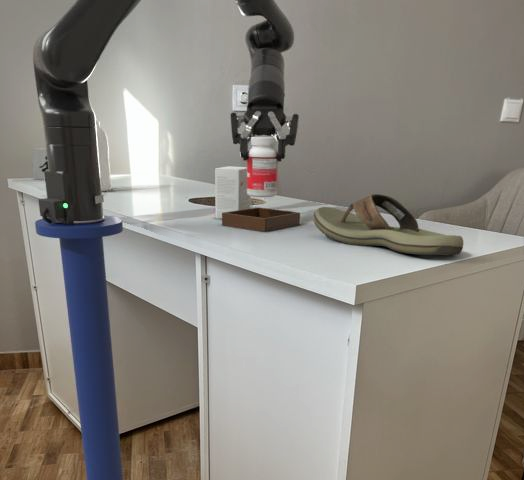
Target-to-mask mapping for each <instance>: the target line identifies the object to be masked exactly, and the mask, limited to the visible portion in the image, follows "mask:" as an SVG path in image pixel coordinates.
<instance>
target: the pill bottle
mask: <svg viewBox="0 0 524 480" xmlns="http://www.w3.org/2000/svg"><path fill="white" fill-rule="evenodd" d="M275 144H276V141H275V138H274V137H273V136H255V137H251V141H250V145H251V148H249V149H248V153H247V161H246V167H247V194H248V195H249V196H251V197H253V198H273V197H275V196H277V195H278V179H279V177H278V175H279V174H278V173H279V169H278V168H279V161H278V150H276V149H275V148H274V146H275Z"/></svg>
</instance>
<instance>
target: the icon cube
mask: <svg viewBox="0 0 524 480" xmlns="http://www.w3.org/2000/svg"><path fill="white" fill-rule="evenodd" d="M30 155H31V163H32V171H33V177H34V180H45V179H44V178H45V175H44V172H45V170H49V169H48V160H47V151H46V147H36V148H30Z"/></svg>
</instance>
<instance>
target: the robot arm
mask: <svg viewBox="0 0 524 480" xmlns="http://www.w3.org/2000/svg"><path fill="white" fill-rule="evenodd" d="M141 1H142V0H76V1H75V2H74V3H73V4H72V5H71V7H69V9H68V10H67V11H66V12H65V14H63V15H62V17H61V18H60V19H59V20H58V21H57V22H56V23H55V24H53V26H51V28H49V29H48V30H46V31H44V32H43V33H42V34H40V35H39V36H38V37H37V39H36V40H35V42H34V44H33V49H32V64H33V65H32V66H33V72H34V79H35V80H34V81H35V87H36V96H37V103H38V107H39V110H40V114H41V117H42V126H43V132H44V142H45V148H46V151H47V160H48V169H49V170H45V172H44V175H45V179H44V182H45V183H44V184H45V192H46V198H45V197H44V198H38V208H39V215H40V217H41V219H44V220H45V221H46V222H48V223H49V224H51V223H52V222H53V223H58V224H63V225H85V224H95V223H100V222H103V221H104V216H105V215H104V209H103V208H104V207H103V206H104V205H103V203H104V202H105V199H104V194H102V192H101V181H100V170H99V158H98V146H97V133H96V128H95V127H96V120H95V119H96V113H95V112H94V109H93V107H92V104H91V101H90V95H89V84H88V79H89V78H90V76H91V75H92V74H93V72H94V70H95V68H96V66H97V64H98V63H99V61H100V59H101V57H102V56H103V53H104V51H105V49H106V48H107V46H108V44H109V42H110V40H111V39H112V37H113V36H114V34H115V33H116V31H117V29H118V28H119V27H120V25H121V24H122V23H123V22H124V21H125V20H126V19H127V18H128V17H129V15H130V14H131V13H132V12H133V11H134V10H135V9H136V8H137V7H138V5H139V4H140V3H141ZM234 1H235V3H236V6H237V7H238V10H239V12H240V14H241V15H242V16H243V17H256V16H258V17H259V16H260V17H263V18H264V19H265V20H263V21H260V22H257V23H256V24H253V25H251V26H250V27H249V28H248V29H247V31H246V33H245V37H244V40H245V45H246V46H245V47H246V49H247V52H248V55H249V59H250V64H251V65H250V77H249V81H248V88H247V89H248V90H247V100H246V111H245V112H244V114H241V115H238V114H237V112H231V113H230V127H231V128H230V129H231V138H232V139H231V140H232V144H233V145H238V144H239V156H240V158H241V159H242V160H243V161H245V162H247V153H248V151H249V144H250V143H251V137H262V136H266V137H273V138H275V142H276V143H277V144H278V145H277V152H278V163H279V162H282V160H284V159H285V158H286V147H287V146H294V145H295V144H296V139H297V134H298V128H299V118H300V116H299V114H297V113H294V114H292V116H289V115H286V113H285V95H286V94H285V93H286V92H285V59H284V56H283V54H282V53H284V52H288V51H290V50H291V49H292V47H294V43H295V42H294V41H295V31H294V28H293V25H292V23H291V21H290V20H289V18H288V17H287V16H286V14H285V12H283V10H282V9H281V8H280V6H279V5H278V3H277V2H276V0H234ZM243 123H244V124H245V129H244V130H243V131H242V133H239V130H238V129H240V127H241V126H242V124H243ZM286 124H287V128H288V129H289V134H285V132H284V130H283V127H284V125H286ZM49 218H50V219H49Z"/></svg>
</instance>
